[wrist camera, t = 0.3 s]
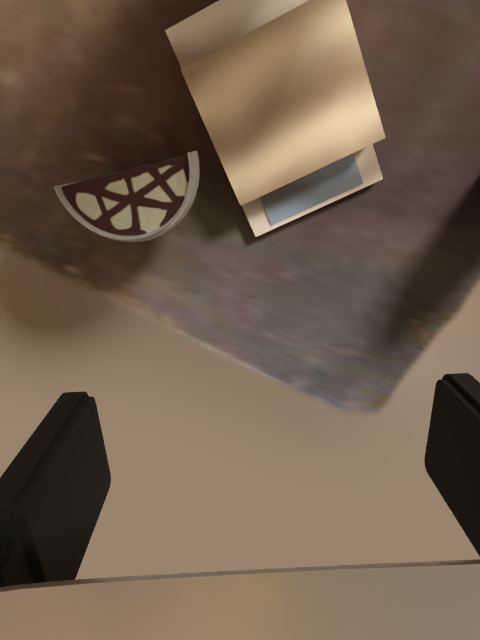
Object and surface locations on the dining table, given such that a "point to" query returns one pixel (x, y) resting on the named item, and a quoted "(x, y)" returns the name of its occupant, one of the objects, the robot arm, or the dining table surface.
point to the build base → (282, 102)
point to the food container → (135, 199)
